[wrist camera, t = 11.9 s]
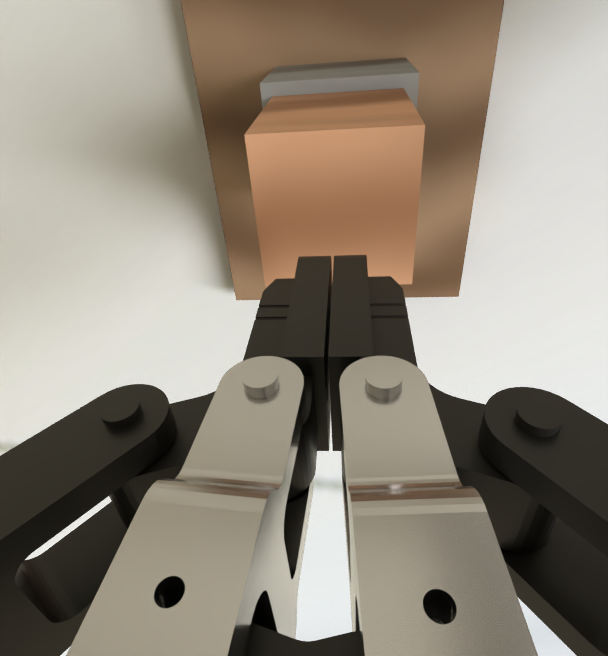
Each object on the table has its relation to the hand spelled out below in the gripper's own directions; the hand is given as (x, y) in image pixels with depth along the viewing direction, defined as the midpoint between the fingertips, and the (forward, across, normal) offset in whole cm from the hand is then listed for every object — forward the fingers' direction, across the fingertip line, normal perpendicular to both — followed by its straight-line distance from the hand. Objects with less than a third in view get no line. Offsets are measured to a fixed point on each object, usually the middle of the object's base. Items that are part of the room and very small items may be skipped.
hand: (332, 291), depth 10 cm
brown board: (+17, 0, 0) cm, 17 cm away
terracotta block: (+10, 0, 0) cm, 10 cm away
